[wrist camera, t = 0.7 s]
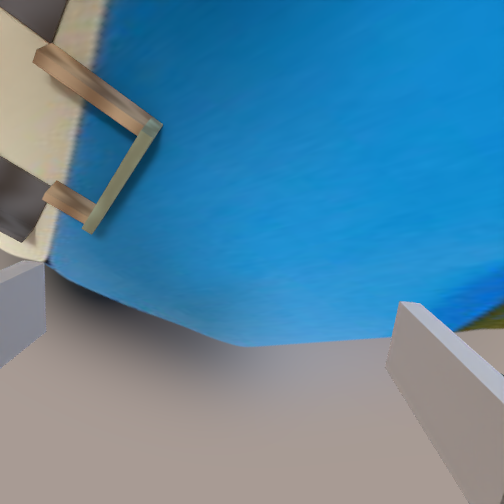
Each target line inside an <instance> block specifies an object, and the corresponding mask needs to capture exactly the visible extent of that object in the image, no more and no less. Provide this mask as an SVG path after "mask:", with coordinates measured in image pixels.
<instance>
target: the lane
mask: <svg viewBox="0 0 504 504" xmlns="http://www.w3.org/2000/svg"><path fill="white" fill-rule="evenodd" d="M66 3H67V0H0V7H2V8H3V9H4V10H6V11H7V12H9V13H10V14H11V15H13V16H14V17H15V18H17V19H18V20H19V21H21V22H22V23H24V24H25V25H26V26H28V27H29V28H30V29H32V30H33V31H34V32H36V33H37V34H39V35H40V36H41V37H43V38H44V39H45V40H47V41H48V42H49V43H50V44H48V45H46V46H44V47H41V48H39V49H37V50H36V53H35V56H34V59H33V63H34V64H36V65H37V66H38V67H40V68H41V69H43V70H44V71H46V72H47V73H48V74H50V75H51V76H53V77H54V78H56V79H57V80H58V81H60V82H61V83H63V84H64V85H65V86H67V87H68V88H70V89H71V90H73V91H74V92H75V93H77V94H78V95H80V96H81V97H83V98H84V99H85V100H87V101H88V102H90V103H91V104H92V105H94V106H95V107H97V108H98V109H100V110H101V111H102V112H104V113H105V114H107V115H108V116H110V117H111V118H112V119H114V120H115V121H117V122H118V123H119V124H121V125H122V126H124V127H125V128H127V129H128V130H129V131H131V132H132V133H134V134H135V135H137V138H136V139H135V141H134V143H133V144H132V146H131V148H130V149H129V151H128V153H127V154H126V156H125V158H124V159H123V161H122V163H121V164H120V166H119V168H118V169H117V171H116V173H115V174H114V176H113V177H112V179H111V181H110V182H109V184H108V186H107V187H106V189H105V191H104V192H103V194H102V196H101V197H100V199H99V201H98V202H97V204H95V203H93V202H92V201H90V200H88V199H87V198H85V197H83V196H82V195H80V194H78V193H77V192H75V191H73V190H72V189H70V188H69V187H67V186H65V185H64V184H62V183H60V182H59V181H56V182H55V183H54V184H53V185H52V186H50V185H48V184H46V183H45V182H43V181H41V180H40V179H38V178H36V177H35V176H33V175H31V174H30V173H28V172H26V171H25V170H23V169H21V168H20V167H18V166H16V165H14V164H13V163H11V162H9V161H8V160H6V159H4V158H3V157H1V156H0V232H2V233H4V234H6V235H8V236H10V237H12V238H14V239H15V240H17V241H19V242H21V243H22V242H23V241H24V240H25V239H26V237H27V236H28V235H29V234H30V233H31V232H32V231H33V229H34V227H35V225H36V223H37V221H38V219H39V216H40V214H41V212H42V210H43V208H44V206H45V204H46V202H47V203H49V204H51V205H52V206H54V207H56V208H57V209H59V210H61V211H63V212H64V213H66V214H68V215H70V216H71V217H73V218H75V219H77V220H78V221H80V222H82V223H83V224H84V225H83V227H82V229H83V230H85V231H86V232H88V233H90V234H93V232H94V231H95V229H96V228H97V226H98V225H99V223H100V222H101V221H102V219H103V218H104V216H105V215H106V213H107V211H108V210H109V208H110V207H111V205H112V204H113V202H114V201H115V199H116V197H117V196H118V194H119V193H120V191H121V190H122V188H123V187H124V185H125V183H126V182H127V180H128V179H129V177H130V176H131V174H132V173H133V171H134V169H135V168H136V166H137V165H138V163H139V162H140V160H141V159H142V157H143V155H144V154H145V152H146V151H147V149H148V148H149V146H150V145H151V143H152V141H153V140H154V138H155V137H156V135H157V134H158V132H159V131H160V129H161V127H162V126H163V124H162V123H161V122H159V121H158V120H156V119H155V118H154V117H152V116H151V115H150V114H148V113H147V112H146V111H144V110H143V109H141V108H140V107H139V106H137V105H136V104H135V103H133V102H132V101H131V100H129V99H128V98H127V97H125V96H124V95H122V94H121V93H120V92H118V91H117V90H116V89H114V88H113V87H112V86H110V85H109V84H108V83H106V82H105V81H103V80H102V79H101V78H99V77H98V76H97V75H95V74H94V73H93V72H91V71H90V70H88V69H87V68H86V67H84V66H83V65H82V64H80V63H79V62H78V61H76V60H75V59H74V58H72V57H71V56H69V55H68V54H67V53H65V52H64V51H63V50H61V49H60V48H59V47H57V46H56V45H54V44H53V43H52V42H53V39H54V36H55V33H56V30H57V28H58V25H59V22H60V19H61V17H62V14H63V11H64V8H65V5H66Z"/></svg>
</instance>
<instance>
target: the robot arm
mask: <svg viewBox="0 0 504 504" xmlns="http://www.w3.org/2000/svg"><path fill="white" fill-rule="evenodd" d="M44 271H45V270H44V263H42V262H33V261H24V260H23V261H21V262H19V263H16V264H14V265H11V266H9V267H7V268H4V269H2V270H0V368H2V367H3V366H4V365H5V364H6V363H8V362H9V361H10V360H11V359H13V358H14V357H15V356H16V355H18V354H19V353H20V352H21V351H23V350H24V349H25V348H26V347H28V346H29V345H30V344H31V343H33V342H34V341H35V340H36V339H37V338H39V337H40V336H41V335H42V334H44V333H45V332H46V309H45V273H44ZM385 368H386V370H387V371H388V373H389V375H390V376H391V378H392V379H393V381H394V383H395V384H396V386H397V387H398V389H399V391H400V392H401V394H402V396H403V397H404V399H405V401H406V402H407V404H408V405H409V407H410V409H411V410H412V412H413V413H414V415H415V417H416V418H417V420H418V421H419V423H420V425H421V426H422V428H423V430H424V431H425V433H426V435H427V436H428V438H429V439H430V441H431V443H432V444H433V446H434V447H435V449H436V451H437V452H438V454H439V456H440V457H441V459H442V460H443V462H444V464H445V465H446V467H447V468H448V470H449V472H450V473H451V475H452V477H453V478H454V480H455V481H456V483H457V485H458V486H459V488H460V490H461V491H462V493H463V494H464V496H465V498H466V499H467V501H468V503H469V504H504V375H503V374H501V373H499V372H498V371H497V370H496V369H495V368H494V367H492V366H491V365H490V364H489V363H488V362H487V361H485V360H484V359H483V358H482V357H481V356H480V355H478V354H477V353H476V352H475V351H474V350H473V349H472V348H470V347H469V346H468V345H467V344H466V343H465V342H464V341H463V340H461V339H460V338H459V337H458V336H457V335H456V334H455V333H453V332H452V331H451V330H450V329H449V328H448V327H447V326H445V325H444V324H443V323H442V322H441V321H440V320H439V319H437V318H436V317H435V316H434V315H433V314H432V313H431V312H429V311H428V310H427V309H426V308H425V307H424V306H423V305H421V304H420V303H412V302H403V301H399V306H398V311H397V315H396V320H395V324H394V329H393V334H392V338H391V343H390V348H389V352H388V357H387V361H386V367H385Z"/></svg>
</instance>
